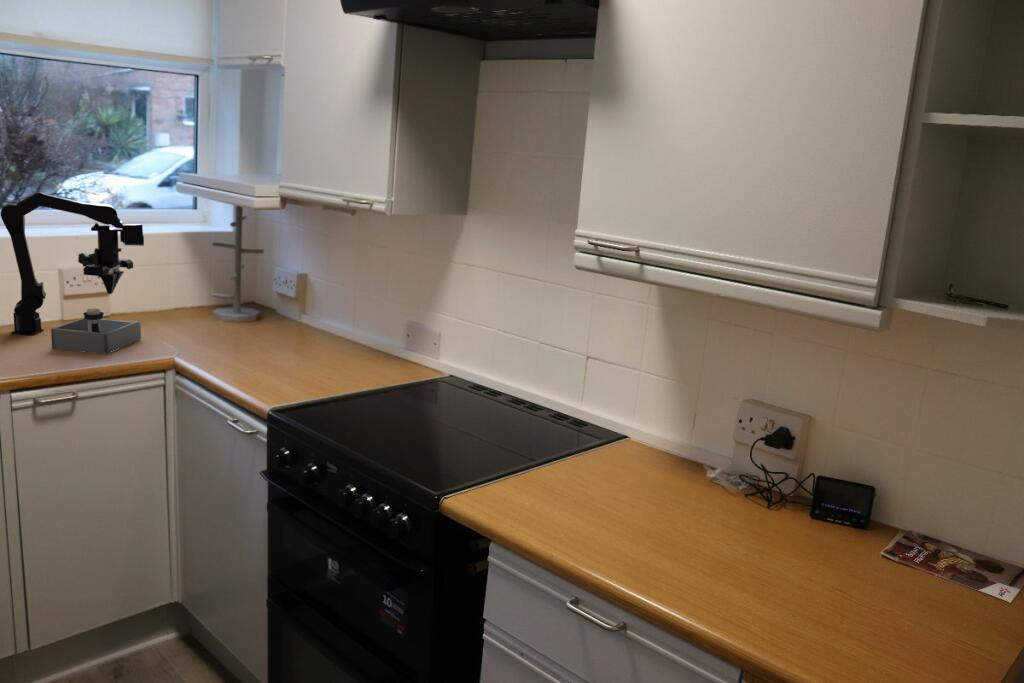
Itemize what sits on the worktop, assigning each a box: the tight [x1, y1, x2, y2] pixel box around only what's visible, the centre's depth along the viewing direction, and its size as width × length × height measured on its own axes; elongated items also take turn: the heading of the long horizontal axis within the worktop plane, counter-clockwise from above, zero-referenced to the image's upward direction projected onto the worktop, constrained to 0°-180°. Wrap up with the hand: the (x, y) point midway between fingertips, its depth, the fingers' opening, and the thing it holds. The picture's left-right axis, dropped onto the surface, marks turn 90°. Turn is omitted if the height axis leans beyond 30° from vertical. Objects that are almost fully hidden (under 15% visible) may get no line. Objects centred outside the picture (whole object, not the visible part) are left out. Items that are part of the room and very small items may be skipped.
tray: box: [100, 318, 142, 339], centre depth 245 cm, size 18×16×5 cm
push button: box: [82, 308, 104, 333], centre depth 241 cm, size 7×5×10 cm
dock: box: [50, 317, 140, 354], centre depth 244 cm, size 18×17×6 cm
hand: (110, 293), depth 259 cm, fingers closed
